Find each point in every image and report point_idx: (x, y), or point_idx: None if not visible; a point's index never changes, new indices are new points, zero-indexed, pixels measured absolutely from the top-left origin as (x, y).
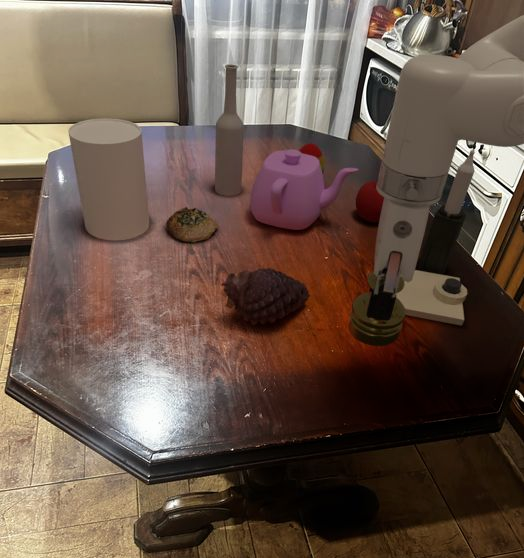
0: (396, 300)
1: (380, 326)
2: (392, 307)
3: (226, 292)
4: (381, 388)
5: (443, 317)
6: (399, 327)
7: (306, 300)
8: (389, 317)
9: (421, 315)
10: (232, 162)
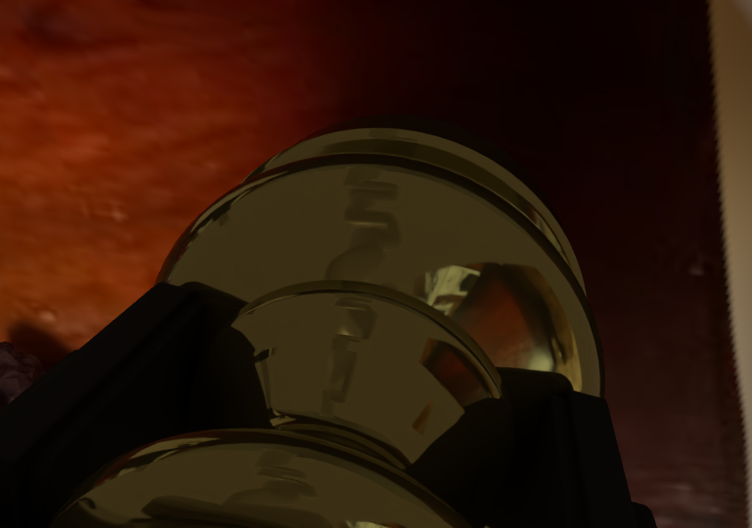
0: (347, 319)
1: None
2: (628, 513)
3: None
4: (489, 75)
5: None
6: (483, 175)
7: (17, 353)
8: (602, 417)
9: None
10: None
